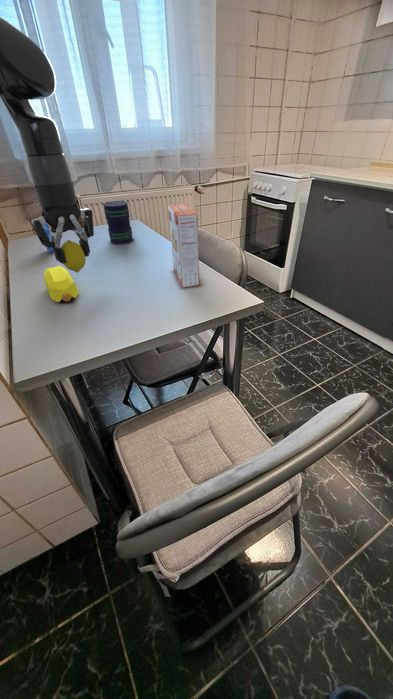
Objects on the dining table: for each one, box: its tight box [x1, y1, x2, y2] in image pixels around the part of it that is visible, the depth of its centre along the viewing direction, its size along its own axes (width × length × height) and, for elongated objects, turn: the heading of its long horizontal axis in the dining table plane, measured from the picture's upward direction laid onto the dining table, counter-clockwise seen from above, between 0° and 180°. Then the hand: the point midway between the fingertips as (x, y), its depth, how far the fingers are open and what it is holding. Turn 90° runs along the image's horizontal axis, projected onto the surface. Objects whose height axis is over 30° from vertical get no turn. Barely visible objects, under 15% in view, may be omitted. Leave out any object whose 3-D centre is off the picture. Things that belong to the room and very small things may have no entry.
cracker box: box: [167, 203, 200, 289], centre depth 89 cm, size 14×6×21 cm, turn 14°
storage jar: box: [103, 200, 134, 245], centre depth 124 cm, size 10×10×15 cm
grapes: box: [44, 222, 54, 253], centre depth 116 cm, size 12×7×12 cm, turn 23°
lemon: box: [60, 239, 87, 274], centre depth 72 cm, size 6×6×8 cm
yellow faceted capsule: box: [43, 265, 80, 303], centre depth 87 cm, size 18×7×8 cm
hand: (74, 259), depth 72 cm, fingers closed on lemon, 5 cm apart
